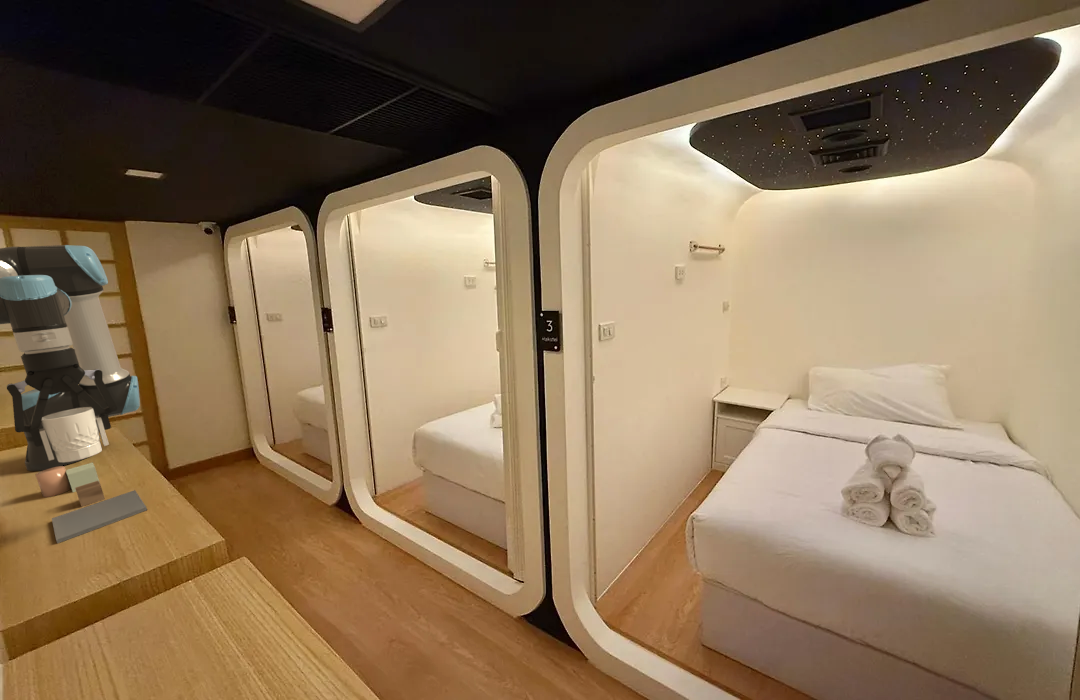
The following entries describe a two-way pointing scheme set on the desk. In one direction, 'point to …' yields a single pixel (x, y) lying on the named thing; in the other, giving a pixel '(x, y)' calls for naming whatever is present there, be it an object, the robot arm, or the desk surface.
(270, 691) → the desk surface
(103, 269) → the robot arm
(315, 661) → the desk surface
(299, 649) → the desk surface
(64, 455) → the white cup
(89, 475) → the sage block
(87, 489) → the walnut block
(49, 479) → the copper rounded block
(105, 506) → the coaster
